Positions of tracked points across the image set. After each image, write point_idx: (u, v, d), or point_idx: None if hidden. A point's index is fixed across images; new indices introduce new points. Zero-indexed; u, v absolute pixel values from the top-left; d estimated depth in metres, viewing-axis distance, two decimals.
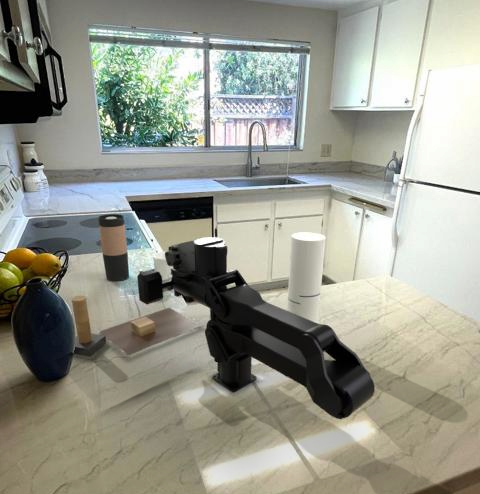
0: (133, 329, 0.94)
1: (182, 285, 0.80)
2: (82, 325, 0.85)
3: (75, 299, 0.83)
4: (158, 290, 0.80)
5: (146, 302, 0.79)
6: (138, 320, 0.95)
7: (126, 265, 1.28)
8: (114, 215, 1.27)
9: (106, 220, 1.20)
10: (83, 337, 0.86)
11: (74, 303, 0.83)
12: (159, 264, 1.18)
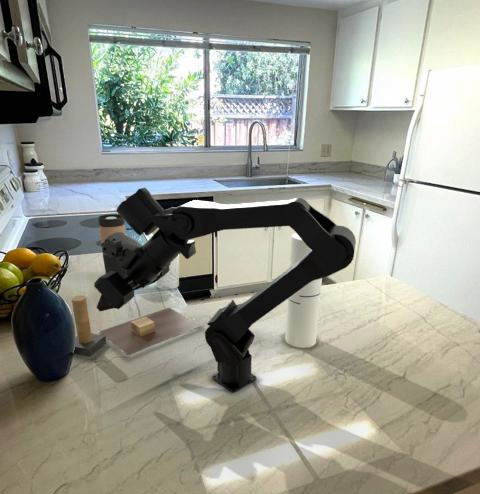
0: (133, 329, 0.94)
1: (140, 263, 0.73)
2: (82, 325, 0.85)
3: (75, 299, 0.83)
4: (123, 284, 0.71)
5: (122, 300, 0.69)
6: (138, 320, 0.95)
7: None
8: (114, 215, 1.27)
9: (106, 220, 1.20)
10: (83, 337, 0.86)
11: (74, 303, 0.83)
12: None
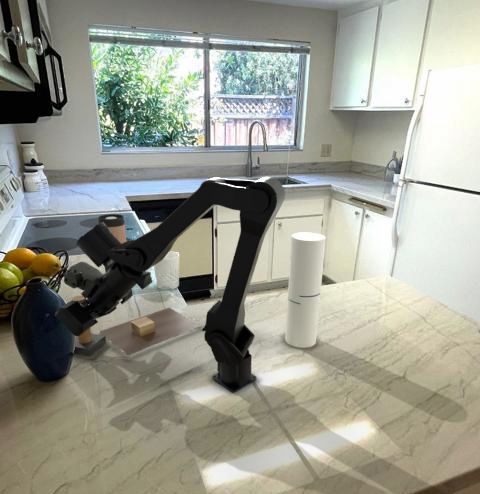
0: (133, 329, 0.94)
1: (100, 293, 0.78)
2: None
3: (75, 299, 0.83)
4: (83, 313, 0.76)
5: (81, 328, 0.74)
6: (138, 320, 0.95)
7: None
8: (114, 215, 1.27)
9: (106, 220, 1.20)
10: (83, 337, 0.86)
11: None
12: (159, 264, 1.18)
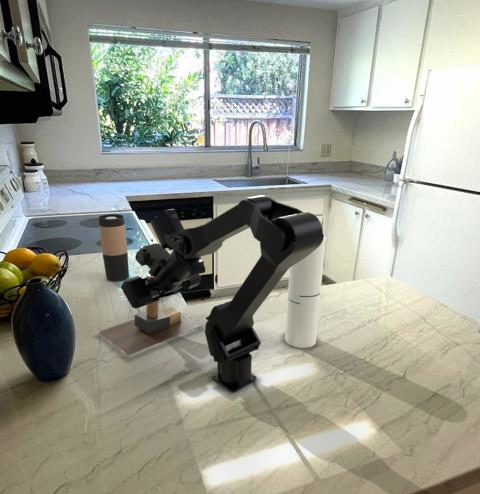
0: None
1: (161, 273, 0.85)
2: None
3: (149, 275, 0.92)
4: (143, 288, 0.84)
5: (137, 302, 0.82)
6: (164, 310, 1.00)
7: (126, 265, 1.28)
8: (114, 215, 1.27)
9: (106, 220, 1.20)
10: (149, 311, 0.94)
11: (147, 278, 0.92)
12: None
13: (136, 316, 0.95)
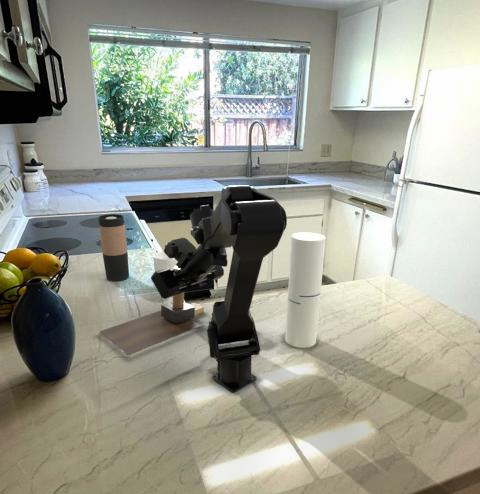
0: None
1: (188, 265, 0.90)
2: None
3: (176, 268, 0.97)
4: (172, 280, 0.89)
5: (166, 292, 0.87)
6: None
7: (126, 265, 1.28)
8: (114, 215, 1.27)
9: (106, 220, 1.20)
10: (176, 302, 0.99)
11: None
12: (159, 264, 1.18)
13: (163, 307, 1.00)
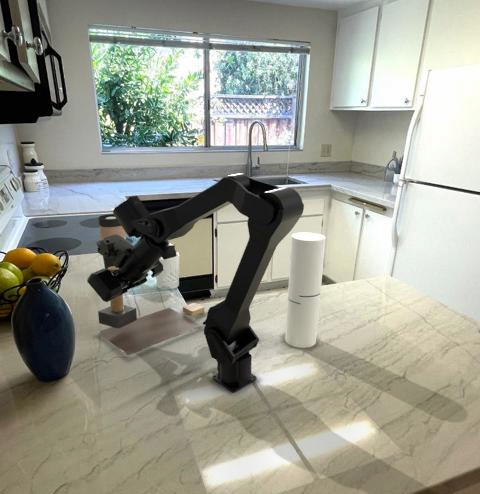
0: None
1: (129, 263, 0.83)
2: None
3: (110, 268, 0.89)
4: (112, 280, 0.81)
5: (109, 294, 0.79)
6: (189, 305, 1.05)
7: None
8: None
9: (106, 220, 1.20)
10: (115, 306, 0.91)
11: None
12: None
13: (100, 313, 0.91)
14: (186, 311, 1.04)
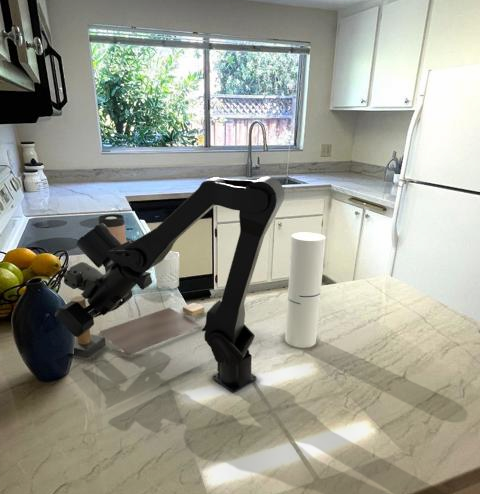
0: None
1: (100, 293, 0.78)
2: None
3: (74, 300, 0.83)
4: (83, 313, 0.76)
5: (81, 329, 0.74)
6: (189, 305, 1.05)
7: None
8: (114, 215, 1.27)
9: (106, 220, 1.20)
10: (82, 338, 0.85)
11: None
12: (159, 264, 1.18)
13: None
14: (186, 311, 1.04)
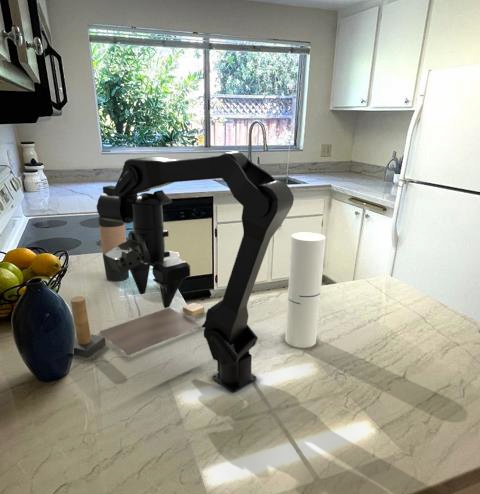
0: None
1: (154, 242, 0.76)
2: (81, 326, 0.84)
3: (74, 300, 0.83)
4: (170, 261, 0.75)
5: (188, 265, 0.75)
6: (189, 305, 1.05)
7: None
8: None
9: (106, 220, 1.20)
10: (82, 338, 0.85)
11: (73, 304, 0.82)
12: None
13: None
14: (186, 311, 1.04)
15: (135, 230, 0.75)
